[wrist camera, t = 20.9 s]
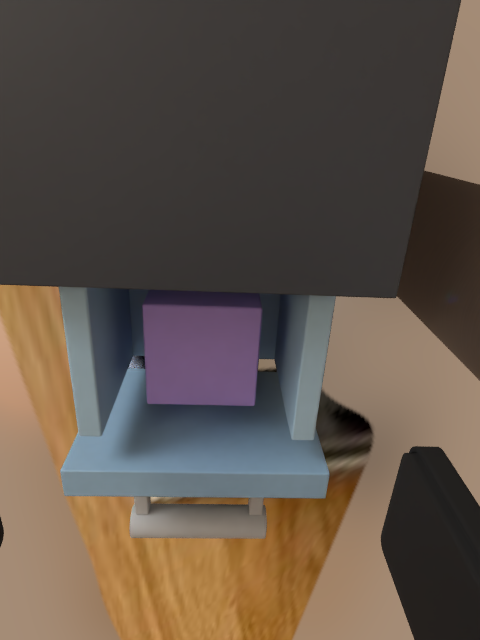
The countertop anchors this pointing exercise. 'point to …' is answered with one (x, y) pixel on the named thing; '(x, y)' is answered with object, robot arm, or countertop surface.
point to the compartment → (216, 142)
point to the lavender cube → (201, 347)
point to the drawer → (194, 420)
